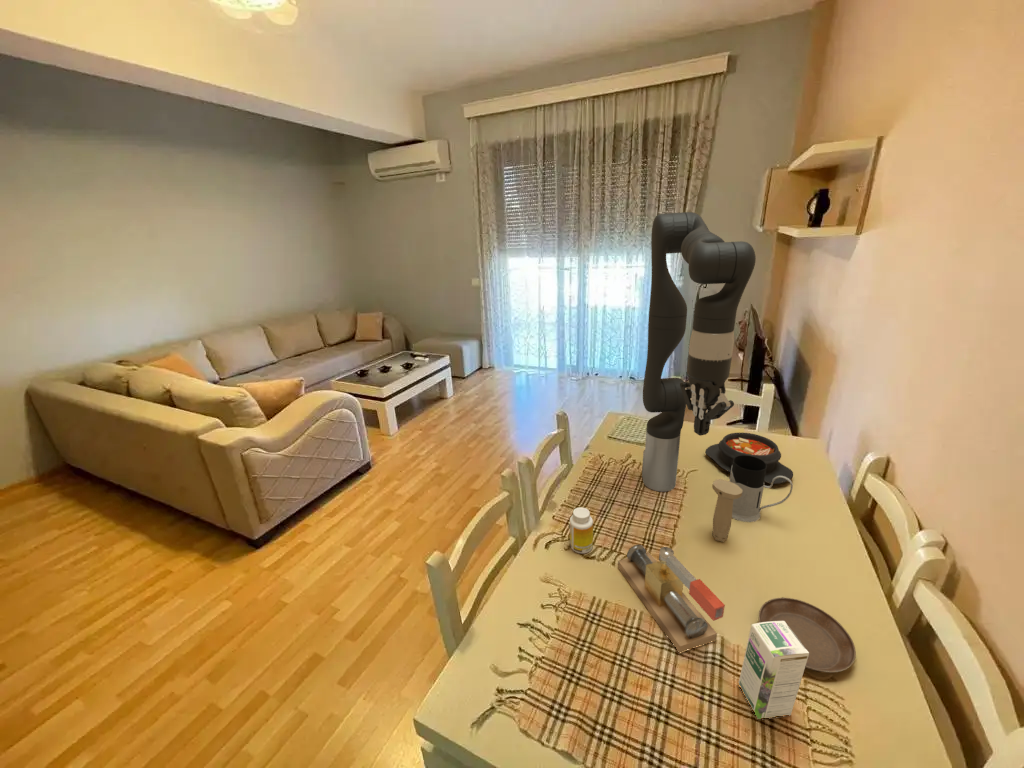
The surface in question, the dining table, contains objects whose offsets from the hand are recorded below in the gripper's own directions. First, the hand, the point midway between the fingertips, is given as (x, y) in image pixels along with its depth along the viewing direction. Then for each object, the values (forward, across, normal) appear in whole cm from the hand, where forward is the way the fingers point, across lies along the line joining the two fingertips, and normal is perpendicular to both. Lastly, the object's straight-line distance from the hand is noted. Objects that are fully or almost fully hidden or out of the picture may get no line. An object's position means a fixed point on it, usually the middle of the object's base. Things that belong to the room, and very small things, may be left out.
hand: (700, 433), depth 86 cm
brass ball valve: (+32, -8, +12) cm, 35 cm away
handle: (+33, +3, -12) cm, 35 cm away
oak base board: (+33, -8, +12) cm, 36 cm away
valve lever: (+22, -14, +12) cm, 29 cm away
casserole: (+33, +26, -42) cm, 59 cm away
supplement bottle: (+33, +12, +21) cm, 41 cm away
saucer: (+34, -24, -7) cm, 42 cm away
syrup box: (+33, -30, +8) cm, 45 cm away
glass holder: (+33, +7, -26) cm, 43 cm away
